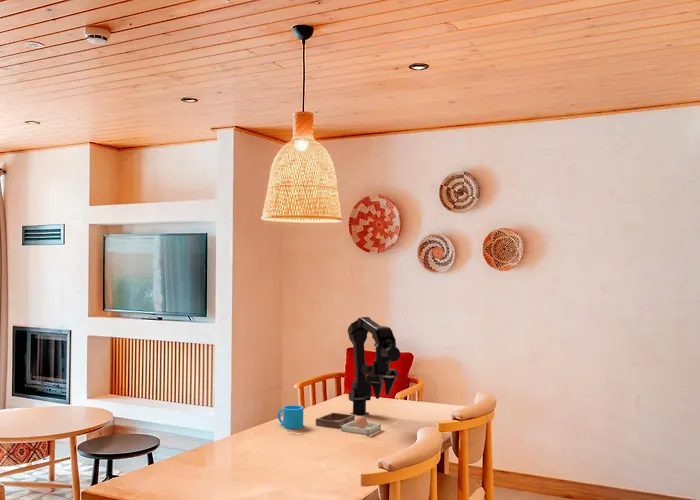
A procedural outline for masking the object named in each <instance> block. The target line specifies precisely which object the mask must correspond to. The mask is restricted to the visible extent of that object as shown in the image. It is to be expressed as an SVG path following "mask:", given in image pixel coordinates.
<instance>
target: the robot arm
mask: <svg viewBox="0 0 700 500" xmlns="http://www.w3.org/2000/svg"><path fill="white" fill-rule="evenodd" d="M393 332H394V331H393V330H392V329H391V327H390V326H389V327H388V326H383V325H380V324H378V323H377V322H375V321H374V320H372V319H371V317H370V316H360V317H358V318H357V319H356V320H355V321H353V322H351V323H350V325H349V326H348V327H347V334H348V339H349V341H350V342H351V343H352V345H353V349H352V350H353V360H354V361H353V364H354V380H353V381H352V383H351V389H350V391H349V394H348V395H347V396H348V400H349V401H350V402H352V412H350V414H349V415H356V416H366V415H369V414H370V412H369V411H367V401H371V399H372V394H374V397H375V399H378V400H379V399H380V396H381V393H382V389H383V386H384V389H385V390H384V391H385V395H386V396H389V395H390V393H391V390H392V388H393V386H394V384H395V381H396V380H397V378H398V377H399V371H398V370H397V369H395V368H390V364H392V362H397V361H398V360H399V359H400V357H401V351H400V349H399V348H398V347H397V342H396V341H397V340H396V337H395V336H394V335H395V334H394V333H393ZM368 333H370V334H371V338H372V339H373V341H374V345H373V346H374V347H375V360H373V361H372V364H371V365H368V363H366V353H365V343H366V341H367V338H368ZM372 392H373V393H372Z"/></svg>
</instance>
